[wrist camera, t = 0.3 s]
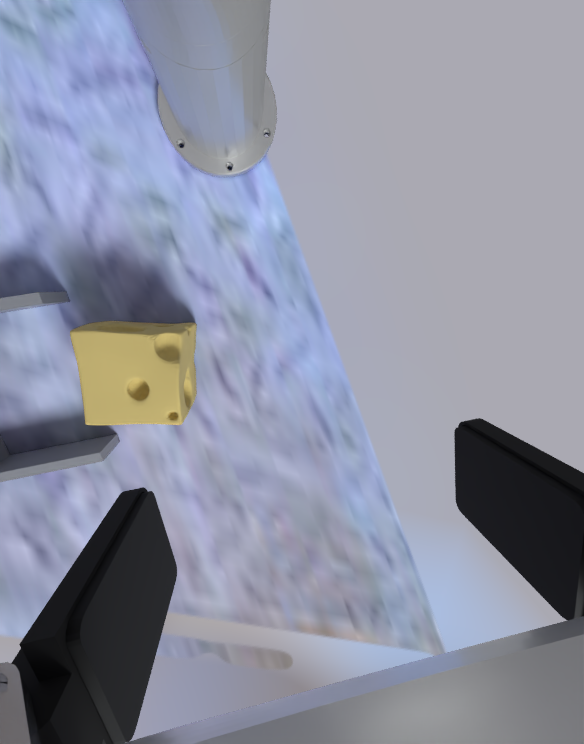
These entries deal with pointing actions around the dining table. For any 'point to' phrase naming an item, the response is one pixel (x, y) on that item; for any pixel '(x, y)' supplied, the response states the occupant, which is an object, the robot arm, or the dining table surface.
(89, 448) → the bin
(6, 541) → the dining table surface
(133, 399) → the cheese
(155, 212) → the dining table surface
